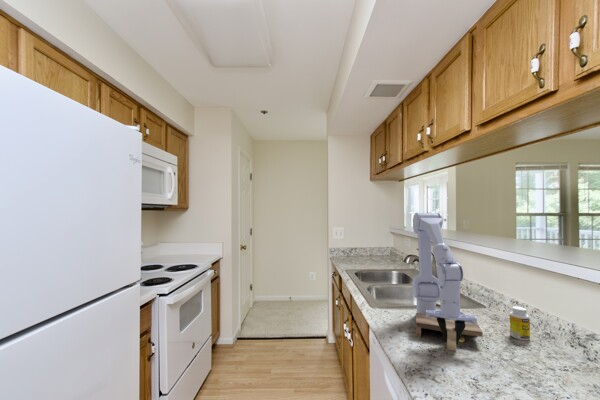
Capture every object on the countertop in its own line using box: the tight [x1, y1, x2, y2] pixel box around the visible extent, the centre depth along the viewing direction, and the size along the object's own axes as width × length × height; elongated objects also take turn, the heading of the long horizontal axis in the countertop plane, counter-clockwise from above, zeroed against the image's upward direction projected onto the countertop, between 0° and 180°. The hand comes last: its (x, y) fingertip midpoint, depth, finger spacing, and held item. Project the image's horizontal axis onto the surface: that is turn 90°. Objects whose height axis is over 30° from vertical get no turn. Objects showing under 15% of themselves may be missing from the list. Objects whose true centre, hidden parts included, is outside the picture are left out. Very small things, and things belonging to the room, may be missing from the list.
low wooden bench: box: [415, 312, 484, 339], centre depth 97 cm, size 10×20×5 cm, turn 68°
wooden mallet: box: [445, 327, 457, 351], centre depth 94 cm, size 13×3×6 cm, turn 162°
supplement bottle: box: [509, 306, 531, 341], centre depth 97 cm, size 6×6×10 cm
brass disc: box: [458, 335, 465, 344], centre depth 95 cm, size 5×5×1 cm
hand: (450, 342), depth 89 cm, fingers closed on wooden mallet, 3 cm apart
